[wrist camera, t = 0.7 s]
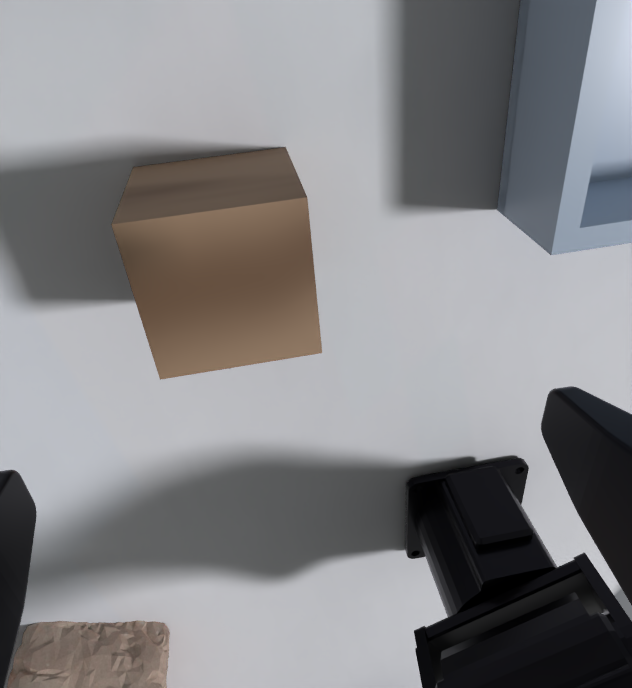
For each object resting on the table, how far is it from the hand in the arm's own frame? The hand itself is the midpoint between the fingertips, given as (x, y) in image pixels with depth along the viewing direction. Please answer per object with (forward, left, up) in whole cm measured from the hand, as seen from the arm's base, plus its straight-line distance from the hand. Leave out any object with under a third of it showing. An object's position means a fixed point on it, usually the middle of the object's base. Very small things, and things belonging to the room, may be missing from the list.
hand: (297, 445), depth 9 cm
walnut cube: (-1, +1, -12) cm, 12 cm away
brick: (-31, +15, -13) cm, 37 cm away
